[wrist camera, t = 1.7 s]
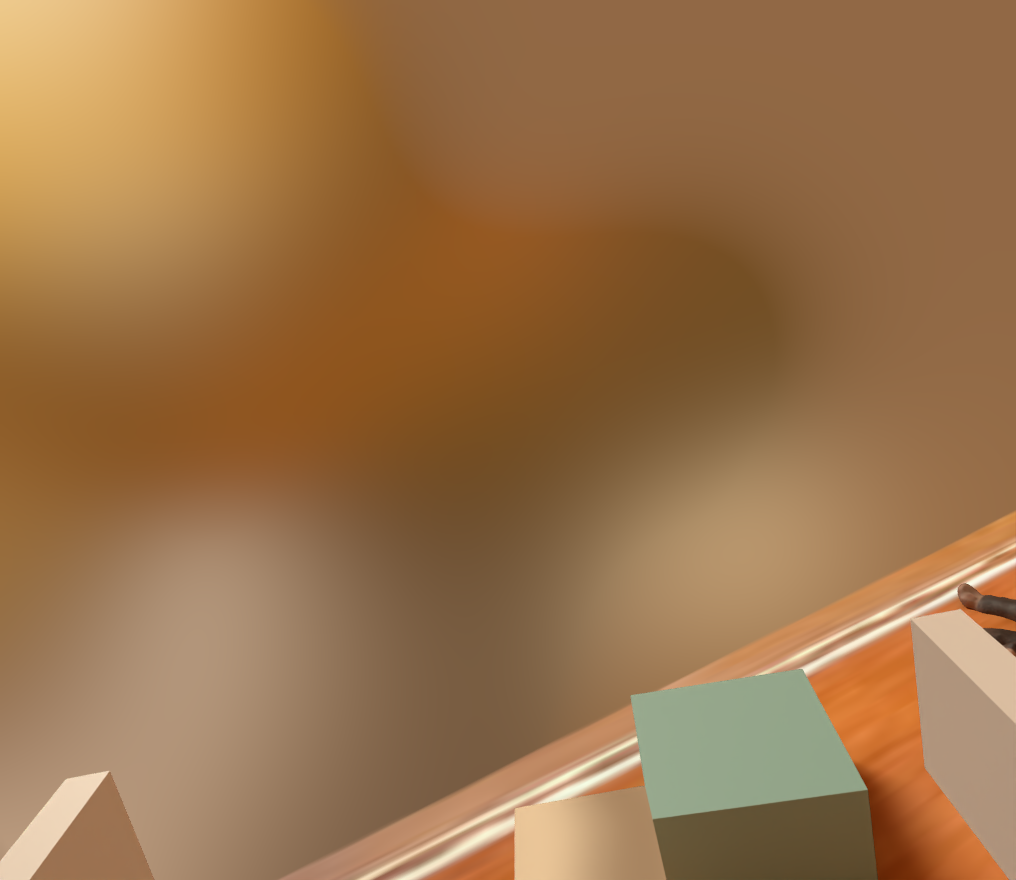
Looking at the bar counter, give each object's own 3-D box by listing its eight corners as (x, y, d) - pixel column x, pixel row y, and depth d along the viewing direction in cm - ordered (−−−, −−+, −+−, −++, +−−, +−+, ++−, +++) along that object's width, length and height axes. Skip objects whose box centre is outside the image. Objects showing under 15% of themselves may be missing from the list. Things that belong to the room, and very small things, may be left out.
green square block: (669, 912, 35) (650, 819, 34) (645, 773, 44) (630, 695, 42) (878, 886, 34) (867, 789, 33) (812, 749, 43) (802, 668, 42)
